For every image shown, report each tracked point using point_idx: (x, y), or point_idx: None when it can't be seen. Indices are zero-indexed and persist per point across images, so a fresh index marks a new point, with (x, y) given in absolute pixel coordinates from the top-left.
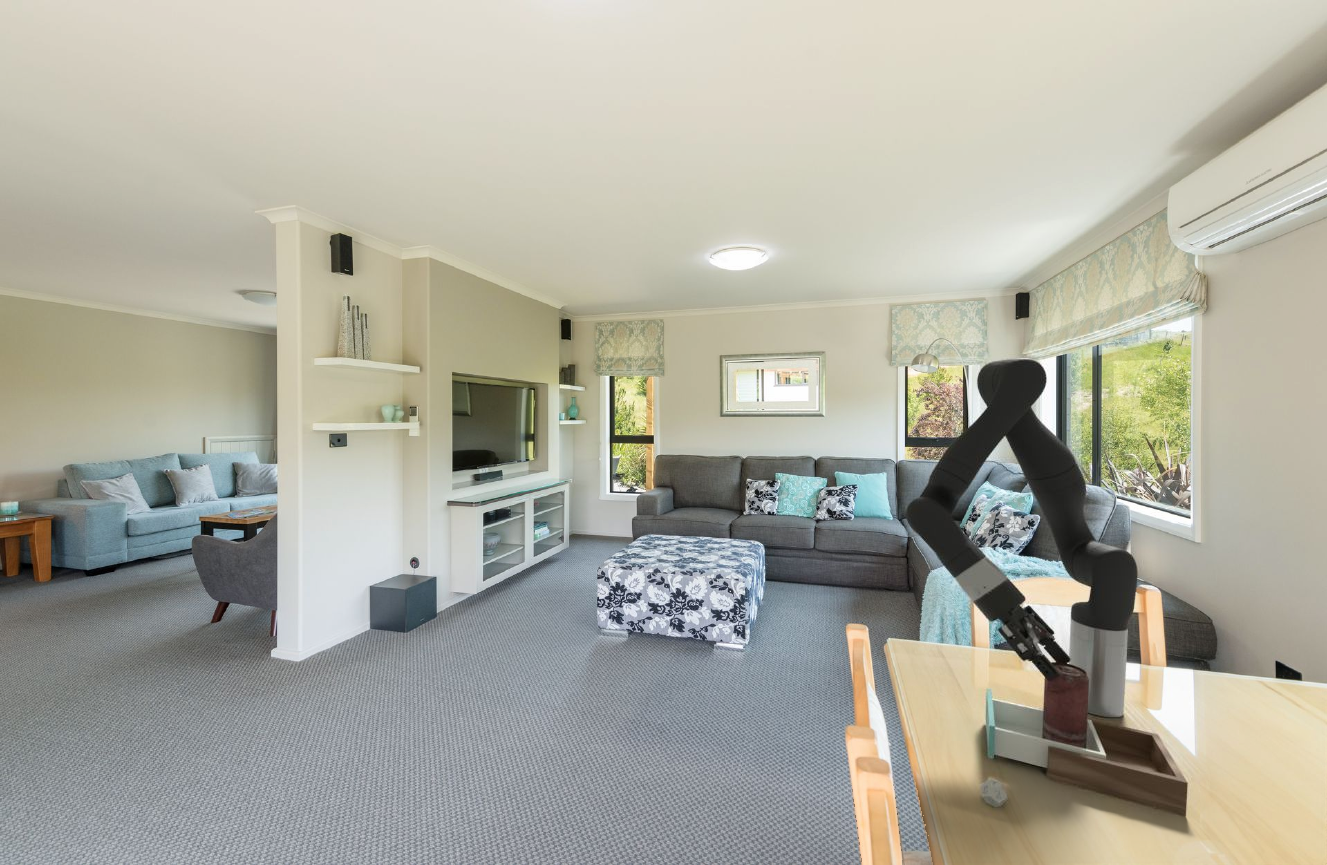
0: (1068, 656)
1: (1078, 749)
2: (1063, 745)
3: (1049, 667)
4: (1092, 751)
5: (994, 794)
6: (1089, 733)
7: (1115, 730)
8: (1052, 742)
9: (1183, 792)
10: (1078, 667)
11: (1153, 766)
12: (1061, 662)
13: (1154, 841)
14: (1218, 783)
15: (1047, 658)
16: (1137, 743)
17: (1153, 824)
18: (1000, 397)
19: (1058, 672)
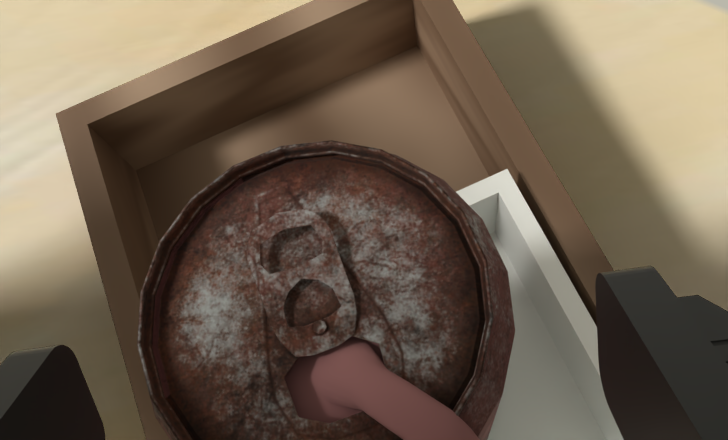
0: (16, 363)
1: (560, 269)
2: (596, 328)
3: (717, 350)
4: (526, 217)
5: None
6: None
7: (128, 246)
8: None
9: None
10: (162, 248)
11: (197, 148)
12: (84, 432)
13: (686, 47)
14: (118, 27)
15: (669, 392)
16: (124, 188)
17: (582, 73)
18: None
19: (642, 273)
